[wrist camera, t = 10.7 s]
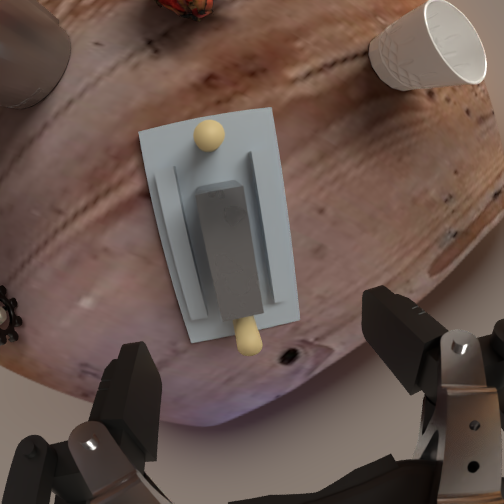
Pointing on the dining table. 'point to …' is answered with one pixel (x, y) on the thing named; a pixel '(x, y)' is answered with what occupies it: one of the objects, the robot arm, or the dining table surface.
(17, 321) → the valve
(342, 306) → the dining table surface
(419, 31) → the white cup
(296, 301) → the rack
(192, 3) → the dragon fruit
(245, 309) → the gray rectangular block
